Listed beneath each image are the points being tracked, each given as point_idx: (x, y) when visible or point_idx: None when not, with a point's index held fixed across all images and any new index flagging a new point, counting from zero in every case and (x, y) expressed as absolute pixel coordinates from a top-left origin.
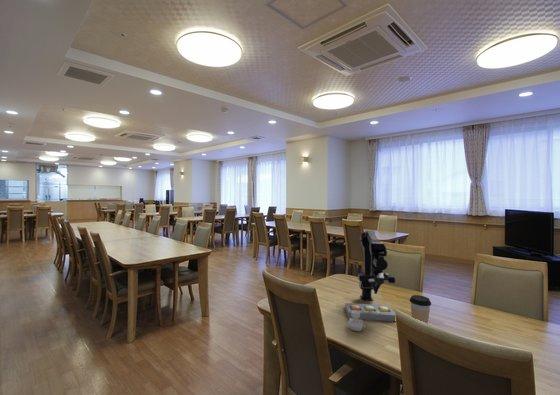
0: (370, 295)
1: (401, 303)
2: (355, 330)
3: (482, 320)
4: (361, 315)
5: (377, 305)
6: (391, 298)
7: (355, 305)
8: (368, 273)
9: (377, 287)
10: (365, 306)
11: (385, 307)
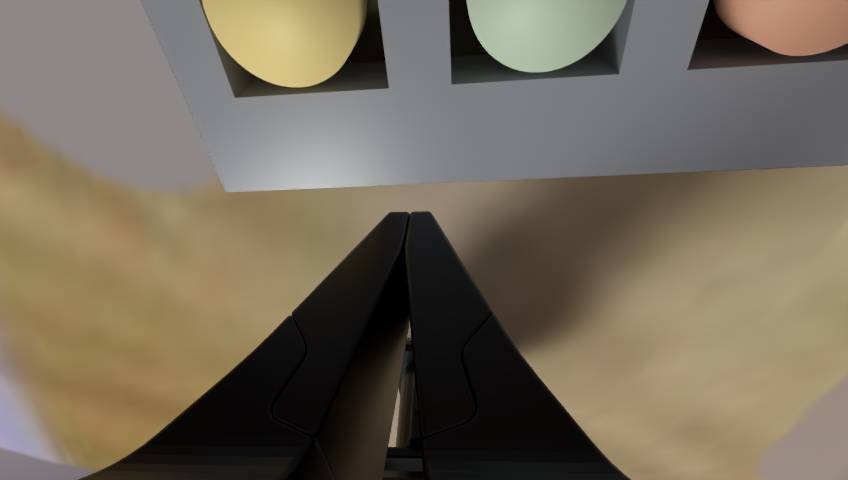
0: (414, 386)
1: (151, 328)
2: None
3: None
4: None
5: (379, 162)
6: None
7: (803, 31)
8: None
9: (332, 343)
10: (579, 89)
11: (258, 49)
